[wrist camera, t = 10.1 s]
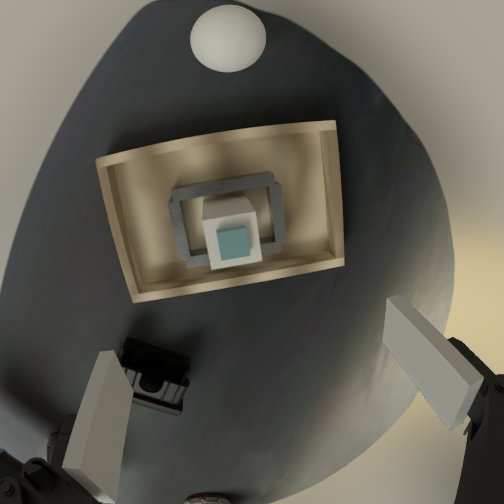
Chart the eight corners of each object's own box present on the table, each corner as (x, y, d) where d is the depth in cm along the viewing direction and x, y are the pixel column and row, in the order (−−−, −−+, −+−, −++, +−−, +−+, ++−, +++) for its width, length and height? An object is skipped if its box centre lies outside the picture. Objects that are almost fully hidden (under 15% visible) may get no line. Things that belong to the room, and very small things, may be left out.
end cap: (113, 369, 41) (103, 402, 34) (123, 334, 39) (112, 367, 32) (177, 390, 43) (175, 424, 37) (193, 358, 41) (192, 392, 35)
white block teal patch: (210, 239, 34) (211, 273, 26) (202, 200, 33) (201, 223, 25) (249, 232, 35) (263, 264, 27) (244, 193, 33) (257, 213, 25)
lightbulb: (256, 80, 30) (280, 57, 20) (199, 91, 30) (195, 70, 19) (246, 30, 28) (264, -11, 17) (189, 40, 27) (182, 0, 17)
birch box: (138, 288, 36) (133, 303, 33) (105, 156, 30) (95, 158, 27) (333, 254, 38) (344, 265, 35) (323, 120, 32) (335, 120, 29)
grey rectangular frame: (183, 261, 35) (182, 269, 33) (167, 188, 32) (165, 191, 30) (283, 244, 36) (287, 250, 34) (275, 170, 33) (279, 172, 31)
